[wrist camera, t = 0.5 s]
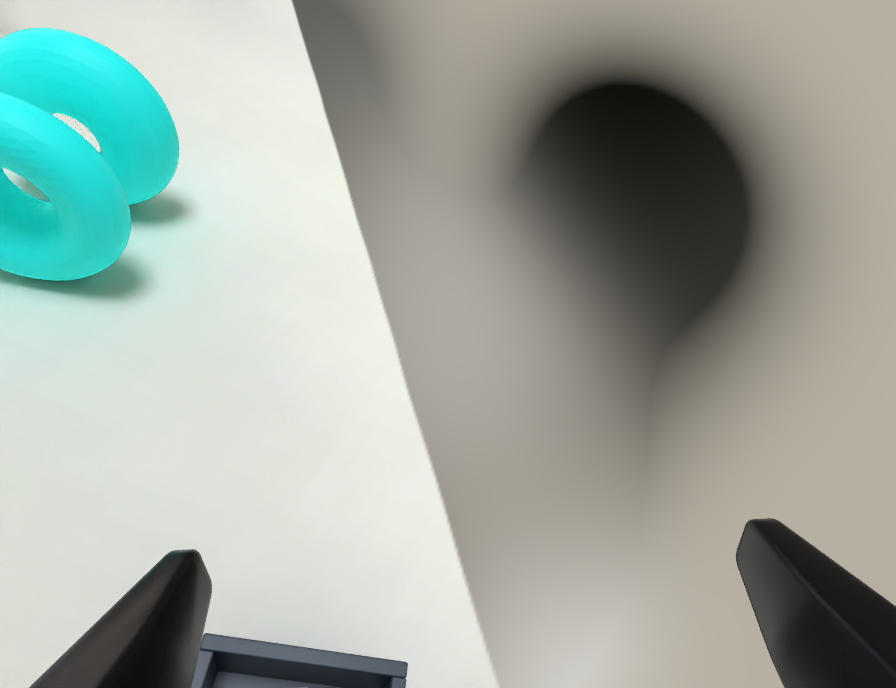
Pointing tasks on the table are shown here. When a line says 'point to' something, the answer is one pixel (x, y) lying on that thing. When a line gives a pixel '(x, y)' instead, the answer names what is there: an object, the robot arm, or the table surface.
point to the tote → (289, 666)
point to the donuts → (75, 153)
